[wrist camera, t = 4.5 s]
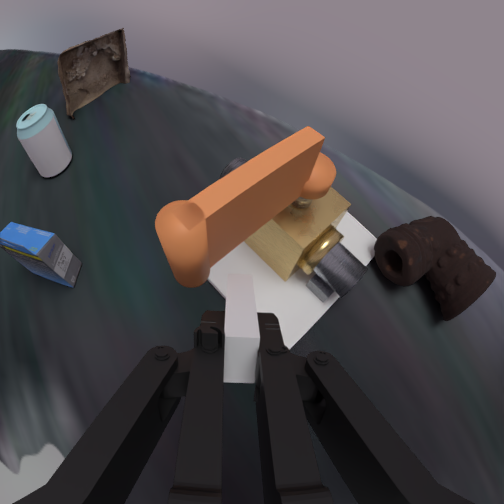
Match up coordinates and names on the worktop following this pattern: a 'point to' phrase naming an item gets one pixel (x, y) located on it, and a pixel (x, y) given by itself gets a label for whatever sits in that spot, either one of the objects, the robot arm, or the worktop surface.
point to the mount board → (289, 282)
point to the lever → (241, 204)
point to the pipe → (434, 262)
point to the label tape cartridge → (41, 253)
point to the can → (44, 140)
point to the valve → (308, 242)
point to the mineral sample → (93, 69)
